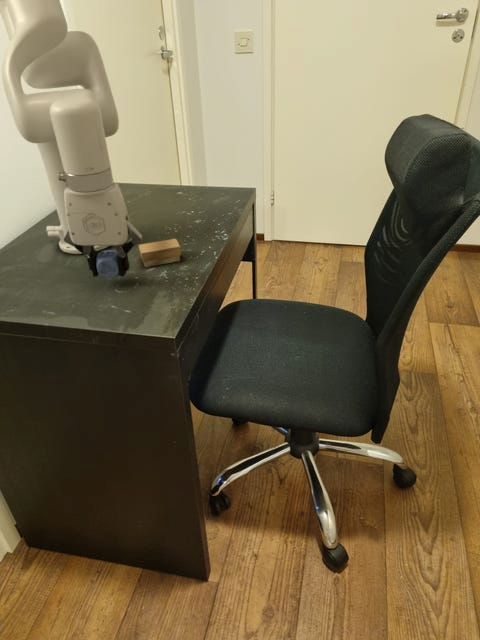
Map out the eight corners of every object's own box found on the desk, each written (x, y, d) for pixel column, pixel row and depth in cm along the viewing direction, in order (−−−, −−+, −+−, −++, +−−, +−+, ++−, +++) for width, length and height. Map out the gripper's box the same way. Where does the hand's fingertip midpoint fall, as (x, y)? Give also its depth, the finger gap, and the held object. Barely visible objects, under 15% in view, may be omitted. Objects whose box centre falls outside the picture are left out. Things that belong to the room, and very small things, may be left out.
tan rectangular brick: (143, 268, 96) (141, 253, 94) (141, 259, 100) (138, 244, 98) (182, 261, 98) (180, 246, 96) (178, 252, 102) (176, 238, 100)
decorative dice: (120, 277, 89) (116, 259, 86) (99, 279, 88) (95, 260, 86) (123, 267, 92) (119, 248, 90) (102, 268, 92) (98, 250, 89)
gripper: (32, 187, 76) (60, 283, 87) (134, 186, 76) (150, 283, 86) (49, 172, 82) (74, 263, 93) (144, 171, 82) (158, 263, 92)
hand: (110, 272), depth 90 cm, fingers closed on decorative dice, 4 cm apart
